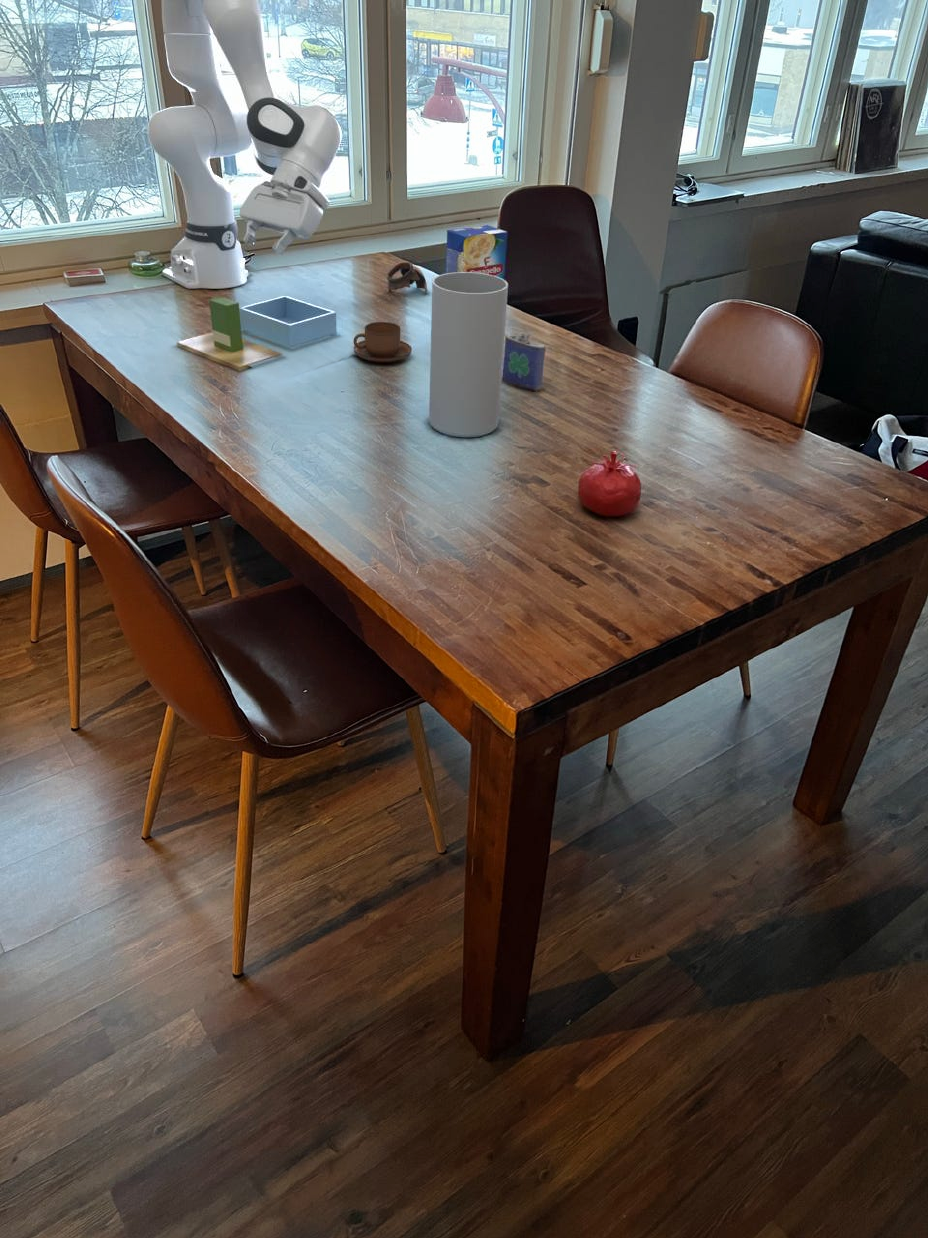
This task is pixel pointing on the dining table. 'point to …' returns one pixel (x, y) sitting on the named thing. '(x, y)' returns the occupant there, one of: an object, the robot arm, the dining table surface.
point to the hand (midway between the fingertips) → (261, 247)
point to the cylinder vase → (466, 352)
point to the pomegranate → (610, 487)
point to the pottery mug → (406, 277)
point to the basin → (288, 321)
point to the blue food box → (476, 250)
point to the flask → (523, 362)
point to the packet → (226, 324)
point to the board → (227, 352)
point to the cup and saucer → (381, 343)
